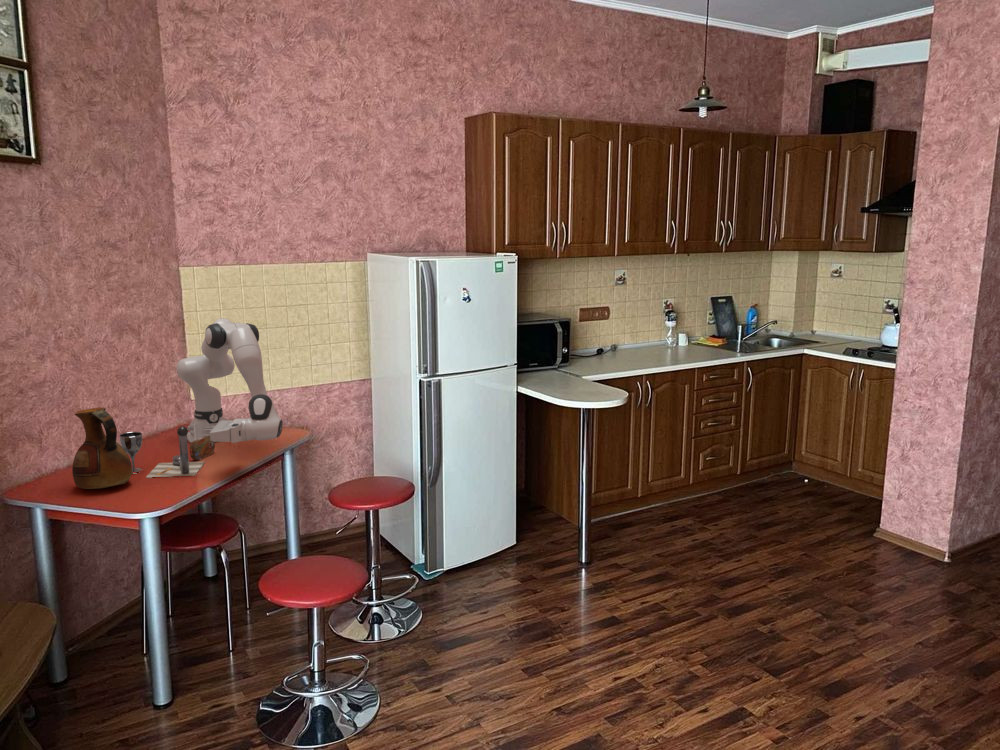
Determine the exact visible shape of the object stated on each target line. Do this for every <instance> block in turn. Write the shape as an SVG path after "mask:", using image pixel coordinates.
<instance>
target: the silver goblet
mask: <svg viewBox="0 0 1000 750" xmlns="http://www.w3.org/2000/svg"><path fill="white" fill-rule="evenodd" d="M119 442H120V443H119V444H120V446H122V447H123V449H124V450H125V451H126V453H127V454H128V456H129V458H130V461H131V465H132V473H133V472H139V471H141V470H142V469H143V468H142V469H141V467H135V458H136V455H137V453H138V452H139V451H140V449H141V448H142V445H143V433H142V432H140V431H129V432H123V433H121V434H119ZM139 473H140V472H139ZM133 474H134V473H133Z"/></svg>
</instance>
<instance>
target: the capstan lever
mask: <svg viewBox="0 0 1000 750" xmlns="http://www.w3.org/2000/svg"><path fill="white" fill-rule="evenodd" d="M176 430H177V431H176V434H177V435H178V443H179V444H178V445H179V454H178V455H173V456H172V463H173V464H174V465H179V466H180V468H181V473H189V462H190V459H189V446H188V439H187V434H188V432H189V431H188V429H187V427H186V426H184V425H183V426H182V425H181V426H179V427H177V429H176Z"/></svg>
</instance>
